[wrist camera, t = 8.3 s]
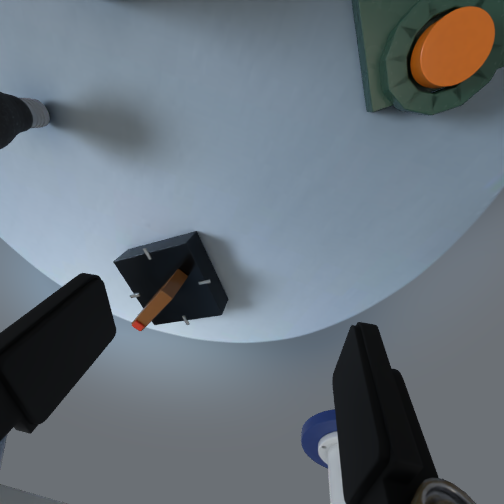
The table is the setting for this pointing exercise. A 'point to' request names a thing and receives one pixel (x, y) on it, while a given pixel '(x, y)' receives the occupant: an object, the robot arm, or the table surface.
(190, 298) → the clamp block
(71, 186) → the table surface
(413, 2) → the button box
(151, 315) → the wooden rectangular beam
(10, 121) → the light bulb
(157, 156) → the table surface
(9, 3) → the table surface
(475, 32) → the button
